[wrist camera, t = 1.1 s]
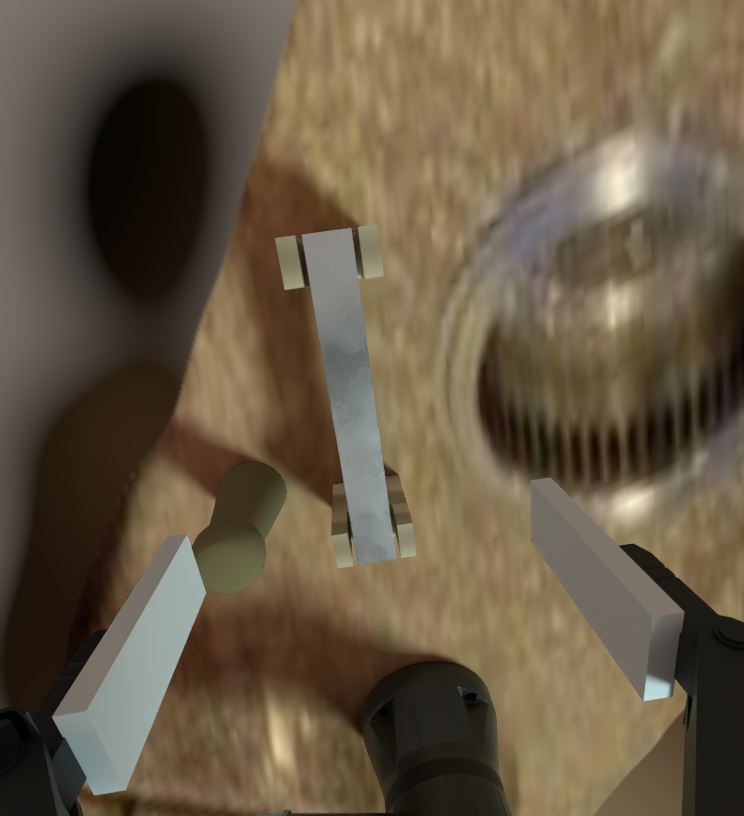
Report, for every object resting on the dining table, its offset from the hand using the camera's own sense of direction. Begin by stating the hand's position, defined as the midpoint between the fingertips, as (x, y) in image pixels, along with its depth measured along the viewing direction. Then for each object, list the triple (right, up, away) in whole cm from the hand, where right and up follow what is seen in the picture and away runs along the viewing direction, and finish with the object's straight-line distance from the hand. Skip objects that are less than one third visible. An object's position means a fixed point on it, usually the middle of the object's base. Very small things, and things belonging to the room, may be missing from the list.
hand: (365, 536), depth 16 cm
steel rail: (-1, +5, +16) cm, 17 cm away
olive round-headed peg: (-11, -3, +23) cm, 26 cm away
